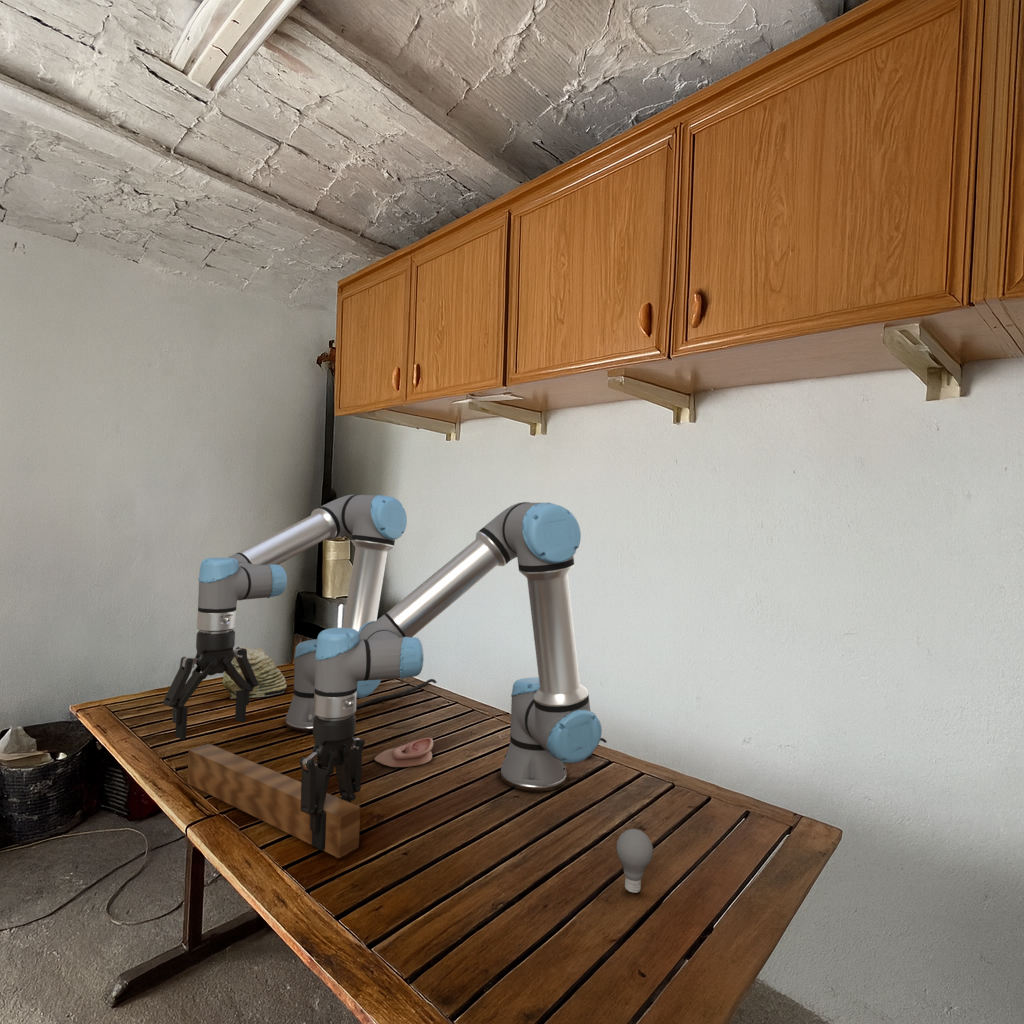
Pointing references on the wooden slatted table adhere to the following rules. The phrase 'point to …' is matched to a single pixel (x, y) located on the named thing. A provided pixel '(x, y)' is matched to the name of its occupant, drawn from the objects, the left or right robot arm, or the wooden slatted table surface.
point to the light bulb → (634, 857)
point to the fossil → (258, 675)
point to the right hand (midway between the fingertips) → (330, 840)
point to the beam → (271, 797)
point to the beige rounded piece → (407, 754)
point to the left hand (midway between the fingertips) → (211, 729)
